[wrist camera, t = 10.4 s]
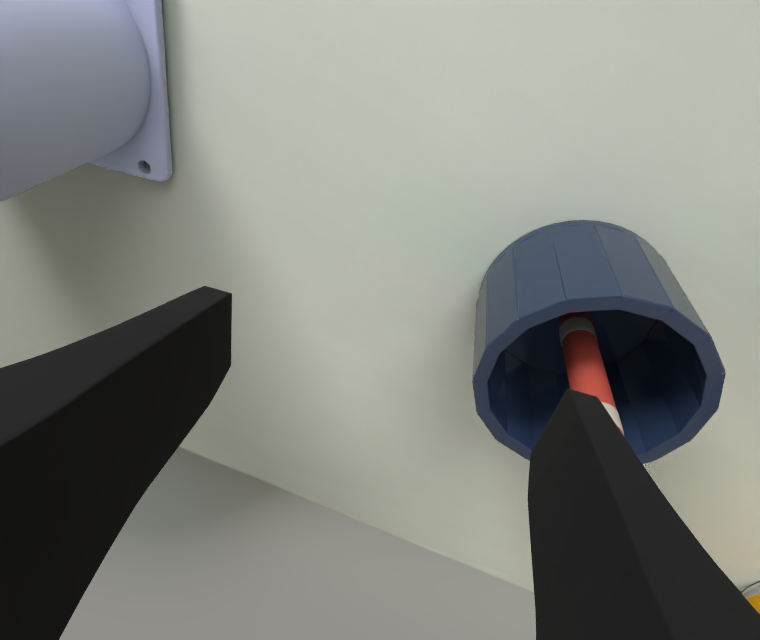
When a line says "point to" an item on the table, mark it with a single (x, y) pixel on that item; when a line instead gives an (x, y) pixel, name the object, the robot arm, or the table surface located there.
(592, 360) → the baton
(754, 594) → the beer can
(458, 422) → the table surface
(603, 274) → the cup
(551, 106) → the table surface
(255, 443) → the table surface
